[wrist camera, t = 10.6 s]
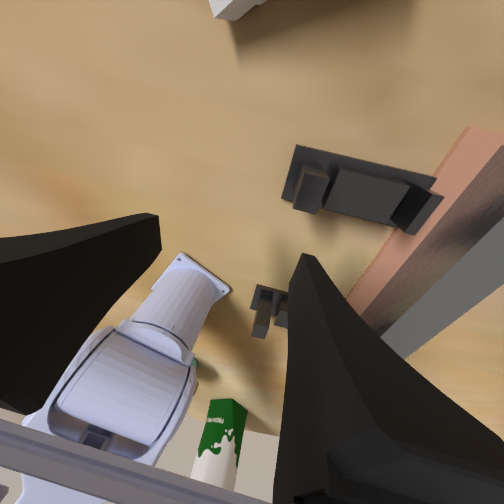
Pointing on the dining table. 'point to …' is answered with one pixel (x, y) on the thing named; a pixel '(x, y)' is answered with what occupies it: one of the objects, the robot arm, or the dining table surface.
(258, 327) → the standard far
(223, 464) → the milk carton
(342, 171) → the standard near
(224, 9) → the decorative molding
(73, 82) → the dining table surface
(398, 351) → the rail
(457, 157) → the mat
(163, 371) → the robot arm
